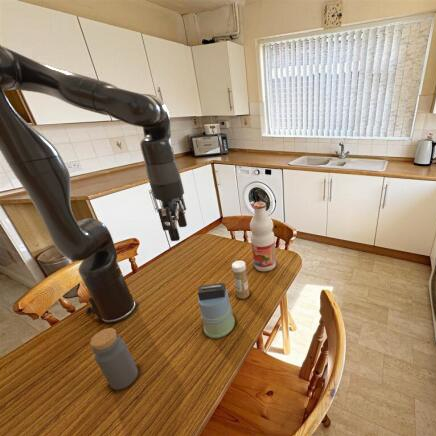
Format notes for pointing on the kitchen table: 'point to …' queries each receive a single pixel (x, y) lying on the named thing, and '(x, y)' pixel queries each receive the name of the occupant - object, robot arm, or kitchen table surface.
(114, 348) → the bottle
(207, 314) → the stacked cups
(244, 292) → the sprinkles bottle
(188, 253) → the kitchen table surface
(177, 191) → the robot arm
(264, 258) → the fruit juice
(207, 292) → the clip
